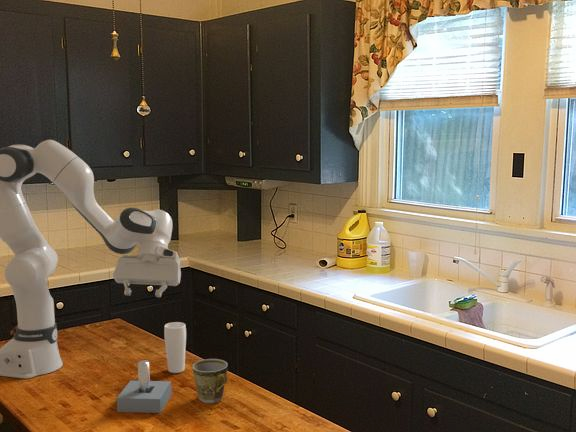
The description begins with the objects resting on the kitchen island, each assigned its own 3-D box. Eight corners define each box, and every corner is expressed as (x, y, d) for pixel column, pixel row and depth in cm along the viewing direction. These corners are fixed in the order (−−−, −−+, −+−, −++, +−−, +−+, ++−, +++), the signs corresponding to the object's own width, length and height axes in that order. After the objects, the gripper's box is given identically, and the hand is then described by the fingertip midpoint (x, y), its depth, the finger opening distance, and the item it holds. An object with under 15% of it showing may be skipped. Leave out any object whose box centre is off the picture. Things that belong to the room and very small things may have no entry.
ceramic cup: (186, 397, 185) (185, 364, 184) (215, 388, 192) (215, 356, 190) (211, 413, 175) (210, 378, 174) (241, 402, 182) (240, 368, 180)
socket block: (117, 411, 177) (116, 397, 176) (131, 393, 188) (130, 380, 188) (160, 413, 176) (159, 399, 175) (171, 394, 187) (171, 381, 187)
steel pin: (137, 405, 181) (136, 364, 179) (141, 400, 184) (139, 360, 182) (149, 405, 180) (147, 364, 179) (152, 400, 183) (150, 360, 182)
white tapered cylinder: (177, 365, 210) (176, 320, 208) (191, 369, 206) (190, 324, 204) (161, 371, 205) (159, 325, 203) (175, 376, 201) (173, 330, 199)
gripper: (116, 249, 200) (105, 288, 191) (181, 252, 198) (173, 291, 190) (121, 260, 205) (111, 298, 196) (185, 263, 203) (177, 302, 195)
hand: (142, 295), depth 193 cm, fingers open, 8 cm apart
